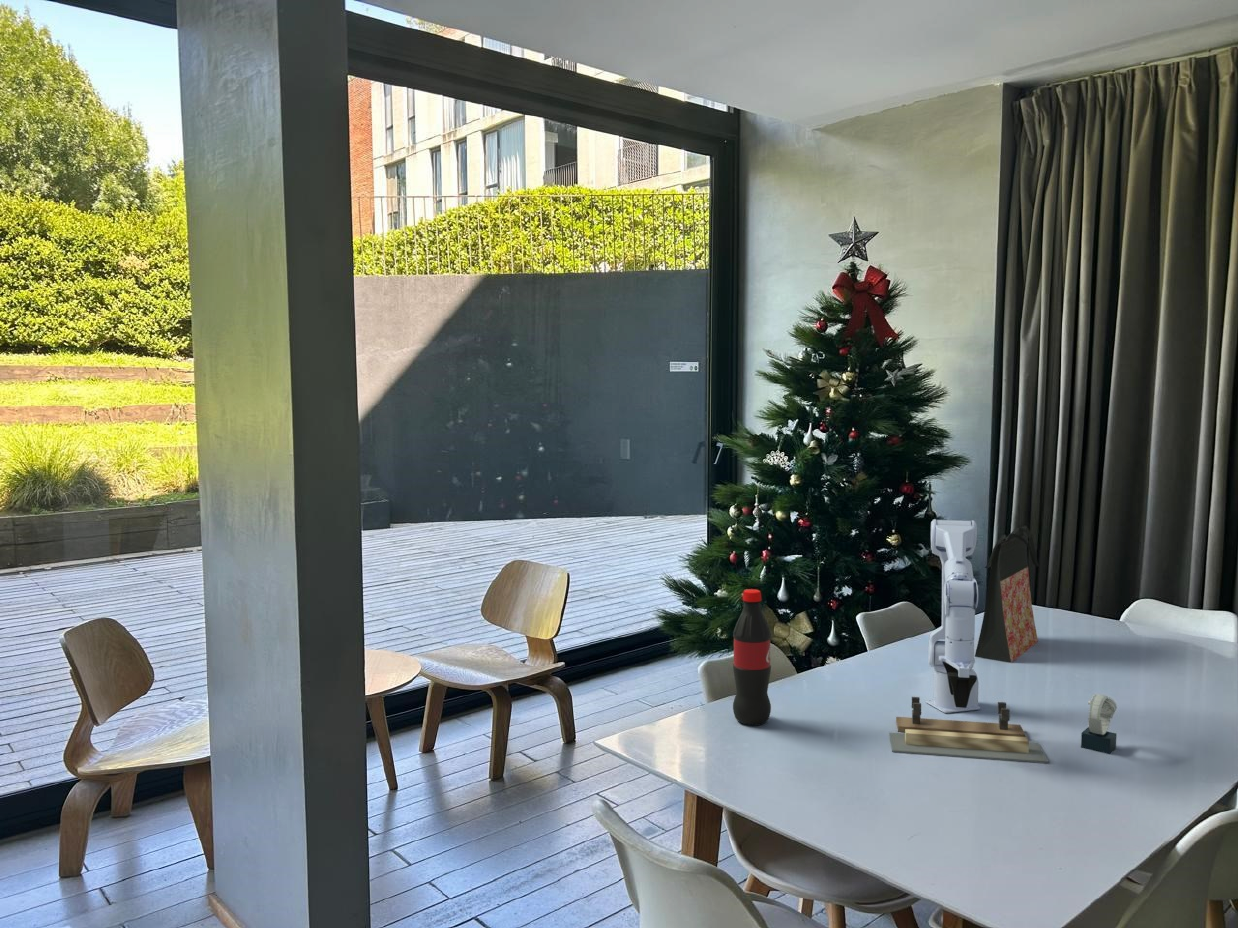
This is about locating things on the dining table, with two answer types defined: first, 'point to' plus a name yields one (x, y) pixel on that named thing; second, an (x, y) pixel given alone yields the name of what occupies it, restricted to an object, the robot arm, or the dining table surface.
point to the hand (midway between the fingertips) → (958, 700)
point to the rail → (967, 740)
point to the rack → (960, 723)
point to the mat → (968, 751)
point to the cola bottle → (752, 662)
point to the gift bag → (1008, 600)
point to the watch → (1100, 725)
